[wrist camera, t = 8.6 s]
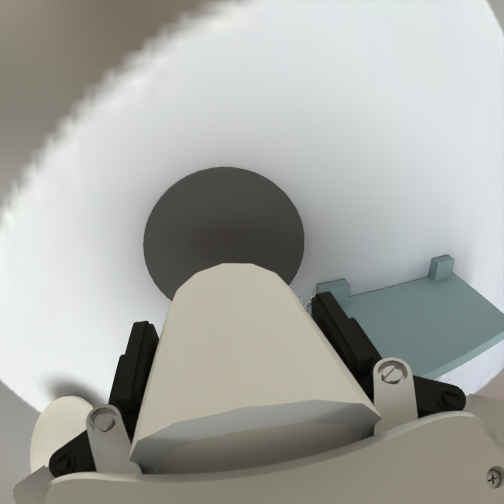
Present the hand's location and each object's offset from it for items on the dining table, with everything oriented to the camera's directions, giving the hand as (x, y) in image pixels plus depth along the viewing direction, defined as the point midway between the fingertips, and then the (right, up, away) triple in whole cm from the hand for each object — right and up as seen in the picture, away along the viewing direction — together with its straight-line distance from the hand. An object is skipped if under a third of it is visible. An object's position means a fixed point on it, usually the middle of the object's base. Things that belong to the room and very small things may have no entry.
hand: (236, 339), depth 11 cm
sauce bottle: (-19, -13, +14) cm, 27 cm away
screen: (+13, 0, +13) cm, 18 cm away
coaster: (-1, +4, +9) cm, 10 cm away
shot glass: (0, +1, +1) cm, 1 cm away
